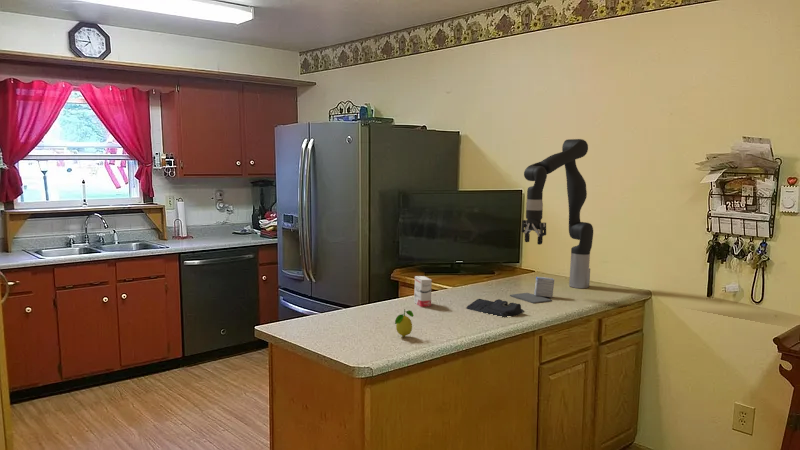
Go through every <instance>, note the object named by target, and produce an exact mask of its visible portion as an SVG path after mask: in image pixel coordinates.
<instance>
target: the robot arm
mask: <svg viewBox="0 0 800 450" xmlns="http://www.w3.org/2000/svg"><path fill="white" fill-rule="evenodd" d="M561 148H562V149H561V151H560V152H557V153H554V154H551V155H549V156H547V157H546V158H545V159H542V160H541V161H538V162H535V163H532V164H530V165H528V166H527V167H526V168H525V169H524V172H523V176H524V178H525V180H527V181H528V182H534V184H533V185H531V186H529V187H527V190H526V191H527V192H526V204H525V205H526V207H525V219H523V220H522V221H521V233H523V235H524V242H525V243H530V233H531V231H533V232H534V233H536V235H537V244H536V245H543V237H544V236H546V235H547V222H542V220H543V207H544V204H543V202H544V201H543V192H544V191H543V190H544V187H545V184H546V181H547V177H548V175H549V174H551V173H553V172H554V171H556V170H558V169H559V168H561V167H563V166H564V171H565V177H566V179H565V180H566V192H567V200H568V201H567V203H568V234H569V237H570V238H571V239H573V240H577V241H579V243H578V244H577V245H575V246H572V247H571V250H570V267H569V283H568V285H569V287H570V288H576V289H587V288H589V287H590V284H591V283H590V282H591V281H590V280H591V268H590V259H591V250H592V247H593V241H594V239H593V238H594V226H593V224H591V223H590V222H583V221H581V210H582V207H583V206H584V204H585V202H586V200H587V195H588V191H587V184H586V183H587V182H586V180H585V178H584V177H583V175H582V174H581V172H580V171H579V169H578V167H577V163H576V160H578V159H581V158H583V157H585V156H586V155H587V153H588V151H589V145H588V142H587V140H585V139H582V138H575V139H574V138H572V139H566V140H564V142H563V144H562V147H561Z"/></svg>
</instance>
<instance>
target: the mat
mask: <svg viewBox="0 0 800 450" xmlns="http://www.w3.org/2000/svg"><path fill="white" fill-rule="evenodd" d="M509 297H513V298H515V299H518V300H521V301H524V302H527V303H531V304H540V303H547V302H548V303H549V302H552V301H553V299H552V298H550V299H549V298H548V297H543V296H535V294H534V293H530V292H522V293H514V294H513V293H512V294H509Z"/></svg>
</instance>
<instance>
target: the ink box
mask: <svg viewBox="0 0 800 450" xmlns="http://www.w3.org/2000/svg"><path fill="white" fill-rule="evenodd" d="M432 281H433V279H431V278H429V277H428V276H425V275H414V294H413V296H414V298H413V303H414V304H416V305H417V306H419V307H420V308H424V307H426V308H427V307H432V284H433V283H432Z"/></svg>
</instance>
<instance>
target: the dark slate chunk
mask: <svg viewBox="0 0 800 450" xmlns="http://www.w3.org/2000/svg"><path fill="white" fill-rule="evenodd" d="M465 309H466V310H469V311H474V312H477V313H481V312H483V313H482V314H486V313H488V314H487V315H490V314H493V315H492V316H494V315H497V316H496V317H498V316H502V317H501V318H503V317H504V318H508V317H507V316H511V317H516V315H517V316H519V315H521V314H523V313H524V312H525V310H524V309H522V304H521V303H516V302H508V301H506V300H502V299H499V298H498V299H495V300H494V301H492V300H488V299H483V298H477V299H475V300H474V301H473V302H472V303H470V304H468V305H467V306H466V307H465Z"/></svg>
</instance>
